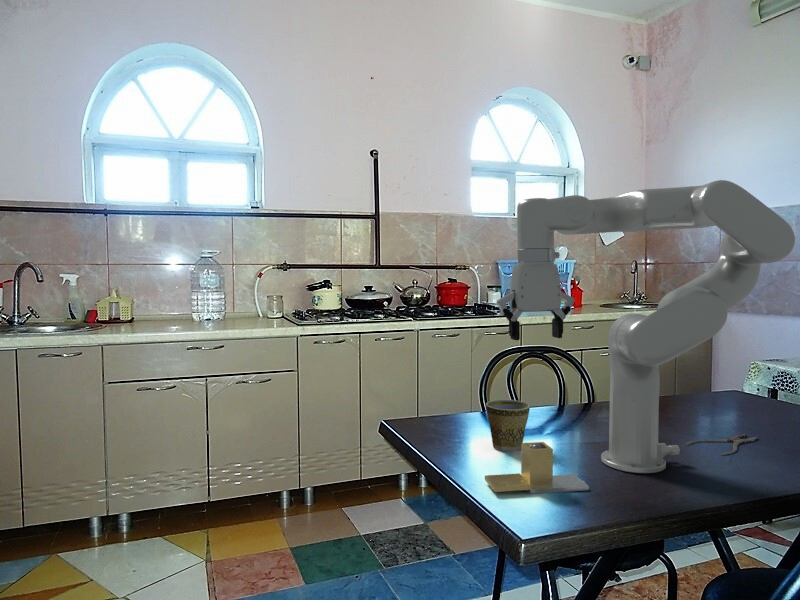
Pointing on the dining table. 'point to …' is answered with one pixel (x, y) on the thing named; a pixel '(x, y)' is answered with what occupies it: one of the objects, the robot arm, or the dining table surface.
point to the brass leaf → (527, 470)
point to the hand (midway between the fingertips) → (536, 338)
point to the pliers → (734, 439)
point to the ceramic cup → (507, 423)
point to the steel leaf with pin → (560, 482)
